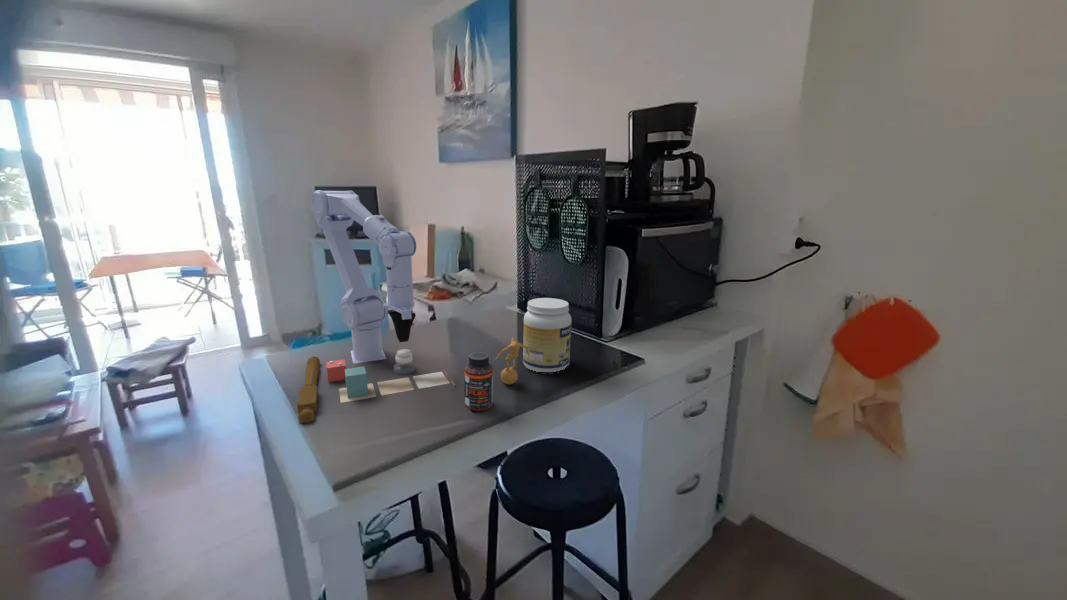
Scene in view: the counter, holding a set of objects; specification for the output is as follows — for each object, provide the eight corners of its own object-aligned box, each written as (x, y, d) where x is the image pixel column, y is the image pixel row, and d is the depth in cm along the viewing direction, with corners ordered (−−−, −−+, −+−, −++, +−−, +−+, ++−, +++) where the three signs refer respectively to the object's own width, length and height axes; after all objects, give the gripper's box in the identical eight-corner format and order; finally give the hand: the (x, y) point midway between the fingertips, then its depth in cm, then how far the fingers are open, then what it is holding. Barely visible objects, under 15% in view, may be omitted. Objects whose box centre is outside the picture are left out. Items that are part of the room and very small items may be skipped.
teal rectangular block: (346, 390, 94) (344, 369, 93) (366, 387, 96) (364, 366, 94) (348, 398, 90) (345, 376, 89) (368, 394, 92) (366, 373, 91)
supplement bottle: (466, 414, 87) (465, 362, 84) (462, 400, 92) (461, 351, 89) (495, 410, 88) (495, 359, 85) (490, 397, 94) (490, 349, 91)
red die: (327, 377, 101) (326, 360, 100) (346, 374, 103) (344, 357, 102) (328, 384, 98) (326, 366, 97) (347, 381, 99) (345, 363, 98)
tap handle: (319, 355, 107) (314, 411, 81) (321, 366, 108) (315, 425, 82) (306, 356, 106) (295, 414, 80) (307, 368, 107) (297, 428, 80)
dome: (394, 359, 105) (393, 349, 105) (410, 356, 107) (410, 347, 106) (397, 365, 102) (396, 355, 101) (414, 362, 104) (413, 353, 103)
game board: (333, 389, 96) (333, 386, 95) (444, 370, 107) (444, 368, 106) (336, 409, 87) (335, 407, 87) (455, 387, 98) (455, 385, 98)
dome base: (392, 369, 106) (392, 363, 106) (413, 366, 108) (412, 360, 108) (396, 377, 102) (395, 370, 101) (417, 374, 104) (416, 367, 104)
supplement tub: (566, 377, 104) (569, 310, 100) (517, 372, 107) (518, 306, 102) (571, 358, 116) (575, 298, 112) (528, 354, 118) (529, 294, 114)
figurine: (520, 377, 104) (521, 330, 101) (532, 387, 99) (534, 338, 96) (489, 383, 100) (489, 335, 97) (500, 394, 95) (500, 343, 92)
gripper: (377, 279, 104) (381, 332, 108) (386, 293, 92) (390, 352, 95) (407, 277, 107) (409, 329, 111) (419, 290, 95) (422, 348, 98)
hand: (403, 339), depth 103 cm, fingers closed
